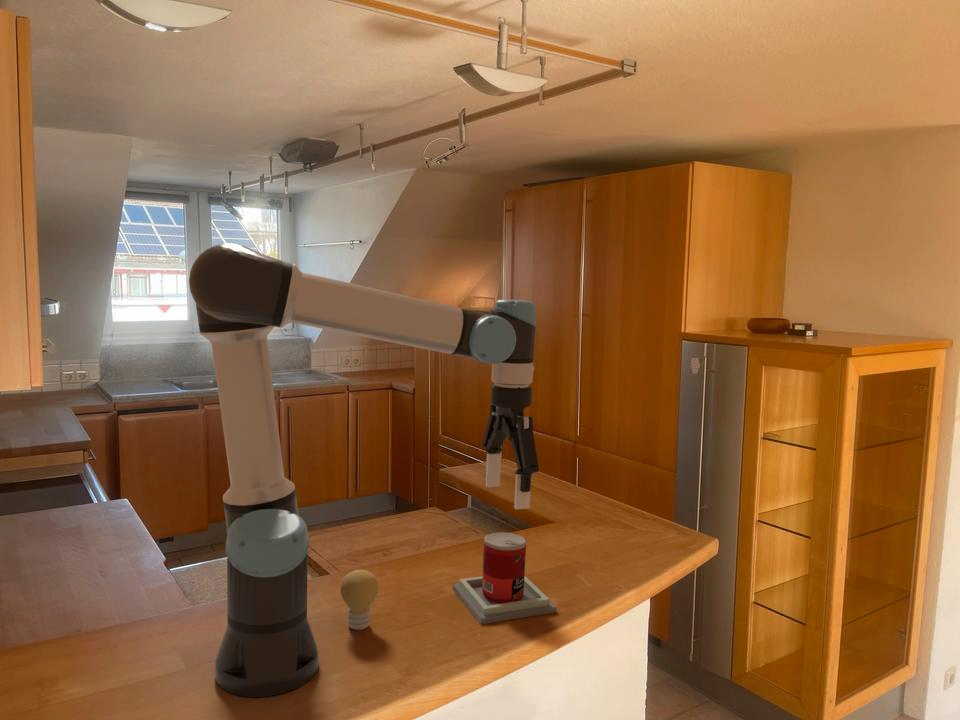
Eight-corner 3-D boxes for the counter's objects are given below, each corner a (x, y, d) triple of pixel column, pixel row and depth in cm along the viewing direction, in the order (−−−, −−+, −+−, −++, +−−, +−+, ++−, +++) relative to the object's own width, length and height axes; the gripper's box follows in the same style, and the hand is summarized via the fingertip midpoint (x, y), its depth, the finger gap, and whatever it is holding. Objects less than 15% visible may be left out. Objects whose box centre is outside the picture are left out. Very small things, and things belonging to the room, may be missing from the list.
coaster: (480, 624, 127) (481, 612, 126) (452, 588, 140) (452, 577, 140) (556, 612, 132) (556, 600, 132) (521, 579, 146) (522, 568, 146)
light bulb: (363, 614, 129) (364, 560, 127) (384, 627, 124) (386, 572, 123) (332, 625, 124) (333, 570, 123) (354, 639, 120) (355, 582, 118)
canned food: (520, 606, 132) (523, 549, 130) (478, 601, 133) (480, 544, 132) (526, 589, 139) (528, 534, 138) (486, 584, 141) (488, 530, 139)
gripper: (562, 395, 121) (555, 516, 124) (503, 374, 144) (498, 477, 147) (522, 396, 118) (515, 520, 121) (468, 374, 141) (464, 479, 144)
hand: (506, 497), depth 134 cm, fingers open, 13 cm apart
